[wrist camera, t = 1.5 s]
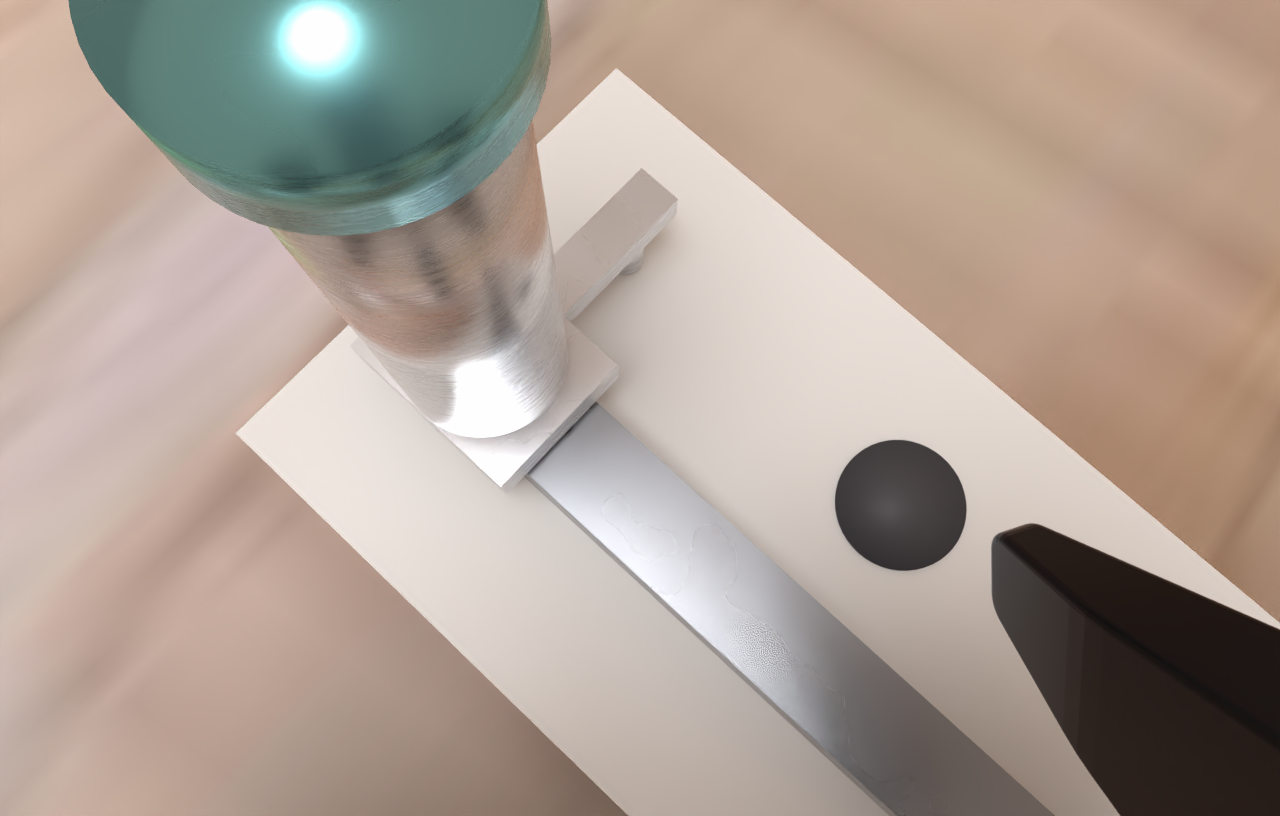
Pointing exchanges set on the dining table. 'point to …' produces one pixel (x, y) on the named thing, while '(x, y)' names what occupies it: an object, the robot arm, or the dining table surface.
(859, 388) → the bolt plate
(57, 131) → the dining table surface
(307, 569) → the dining table surface
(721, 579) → the rail
